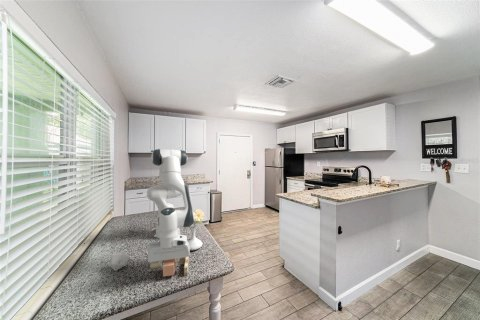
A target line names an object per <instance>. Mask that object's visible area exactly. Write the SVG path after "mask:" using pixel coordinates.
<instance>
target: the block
mask: <svg viewBox="0 0 480 320" xmlns="http://www.w3.org/2000/svg"><path fill="white" fill-rule="evenodd" d="M175 262H176V259H170V260H165V261H164V265H163V269H162V277H170V276H174V275H175V271H176V268H177V266H176V267H175Z"/></svg>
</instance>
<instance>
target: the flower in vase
mask: <svg viewBox="0 0 480 320" xmlns="http://www.w3.org/2000/svg"><path fill="white" fill-rule="evenodd" d="M193 212H194V215H195V221H194V223H193V224H192V225H191V226H190V227H188V229H190V233H191V238H190V239H189V240H187V241H188V243H189V247H190V251H196V250H198V249H200V248H201V247H202V246H203V242H202V240H200V239H199V238H197V237H196V229H197V227H198V225H200V224H202V223H203V220H204V219H205V213H204V212H203V210H202V209H195V211H194V210H193ZM196 224H198V225H196Z"/></svg>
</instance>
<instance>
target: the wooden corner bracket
mask: <svg viewBox="0 0 480 320" xmlns="http://www.w3.org/2000/svg"><path fill="white" fill-rule="evenodd" d="M164 261H165V260H163V261H162V262H163V263H164ZM176 262H177V259H176ZM189 263H190V255H189V256H188V257H184V258H180V260H179V262H178V266H179V265H184V266H183V270H184V273H183V274H184V277H187V276H188V277H189V275H188V274H189V266H190V264H189ZM153 269H154V270H155V269H162V268H161V265H160V264H159V261H156V262H149V270H153Z"/></svg>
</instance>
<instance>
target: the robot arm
mask: <svg viewBox="0 0 480 320" xmlns="http://www.w3.org/2000/svg"><path fill="white" fill-rule="evenodd" d="M150 159H151V163H152V164H153V165H155V166H158V167H159V169H158V170H159V171H158V178H159V180H160V181H161V183H162V184H158V185H153V186H150V187H149V188H148V189H147V191H146V197H147V198H148V200H150V201H151V202H153V203H154V204H155V205H156V207H157V212H158V218H157V219H158V220H157V222H158V223H157V225H156V228H155V229H156V230H155V234H154V235H153V237H154V238H157V239H159V241H156V242H150V243H149V244H148V245H147V246H146V247H147V248H146V250H147V262H148V263H150V262H156V261H159V264H160V265H161V268H160V269H162V270H163V265H164V263H163V262H162V261H163V260H170V259H177V262H175V267H176V268H177V267H179V265H178V262H179V260H180V258H184V257H188V256H189V257H190V254H191V252H190V251H191V250H190V247H189V243H188V241H189V240H188V237H187V235H184V234H181V229H180V228H189V227H190V226H193V225H194V224H195V222H196V221H195V215H194V210H193V206H192V201H191V196H190V192H189V191H190V190H189V186H188V184H187V182H186V181H185V180H184V179H183V177H182V169H181V166H185V165H186V164H187V161H188V154H187V152H186V150H182V149H181V150H180V149H172V148H171V149H170V148H169V149H167V148H164V149H160V148H157V149H154V150H153V151H152V153H151V155H150ZM181 196H182V199H183V204H184V208H182V209H176V208H175V206H174V204H173V203H170V202H167V201H166V200H167V199H173V198H178V197H181Z"/></svg>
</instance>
